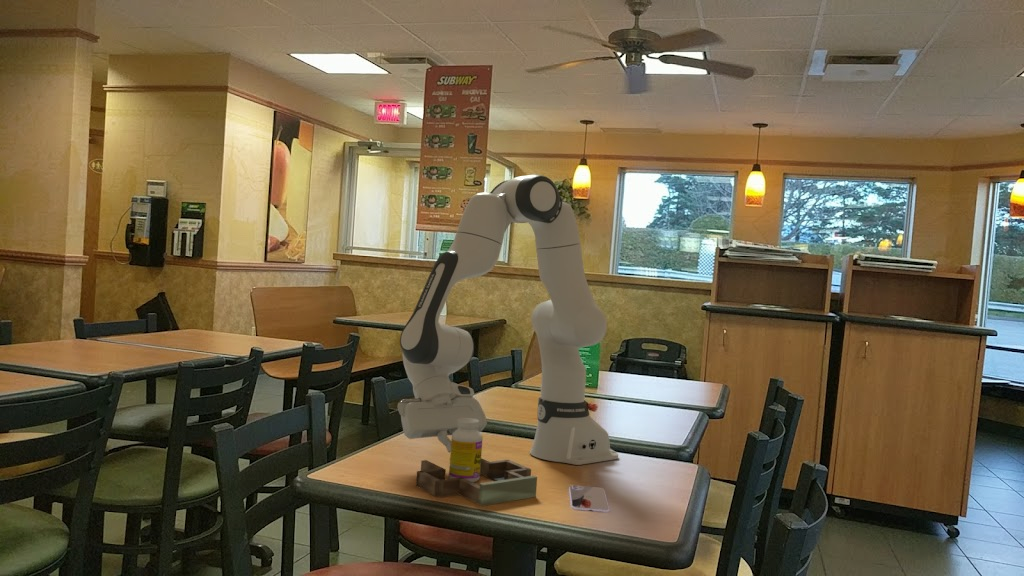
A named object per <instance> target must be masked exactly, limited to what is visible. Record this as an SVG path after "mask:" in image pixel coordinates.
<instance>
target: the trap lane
mask: <svg viewBox="0 0 1024 576" xmlns="http://www.w3.org/2000/svg"><path fill="white" fill-rule="evenodd" d="M420 461H421V462H420V470H417V471H416V479H415V480H416V482H415V483H416V484H415V486H416V487H417V486H418V488H419V487H420V488H419V489H421V490H423V491H424V492H427V493H429V494H430V495H432V496H434V497H435V498H442V497H443V498H444V497H449V496H457V495H459V496H462V497H464V498H466V499H467V500H469V501H471V502H473V503H475V504H477V505H479V506H481V507H484V506H490V505H495V504H496V505H497V504H501V503H507V502H513V501H518V500H524V499H530V498H535V497H537V486H538V476H536V475H532V468H530V467H527V466H524V465H522V464H519V463H517V462H515V461H512V460H510V459H502V460H496V461H495V460H494V461H489V460H486V459H484V458H482V457H481V468H480V476H481V475H482V476H483V477H486V478H488V479H490V480H493V481H488V482H481V483H479V484H476V482H474V483H473V482H471V481H469V480H467V479H465V478H462V477H458V478H451V479H450V478H446V474H447V473H446V471H447V470H446V468H444V467H442V466H440V465H437V464H435V463H433V462H431V461H430V460H427V459H424V460H420Z"/></svg>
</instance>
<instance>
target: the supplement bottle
mask: <svg viewBox="0 0 1024 576" xmlns="http://www.w3.org/2000/svg"><path fill="white" fill-rule="evenodd" d="M457 426H458V430H456V431H454V432H453V434H452V435H451V439H450V440H451V452H450V457H449V470H448V471H449V472H448V479H451V478H458V477H462V478H465V479H467V480H469V481H471V482H473V483H476V482H478V481H480V476H481V474H480V468H481V458H482V452H483V435H482V433H481V432H478V427H479V420H477V419H473V418H459V419H458V420H457Z"/></svg>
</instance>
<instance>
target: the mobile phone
mask: <svg viewBox="0 0 1024 576" xmlns="http://www.w3.org/2000/svg"><path fill="white" fill-rule="evenodd" d="M568 494H569V501H570V508H571V509H572V510H575V511H583V512H585V511H586V512H594V513H595V512H598V513H610V507H609V502H608V500H607V498H608V497H607V496H606V491H605V489H604V488H603V487H597V486H595V487H594V486H584V485H583V486H582V485H574V484H573V485H570V486H569V487H568Z"/></svg>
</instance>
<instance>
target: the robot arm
mask: <svg viewBox="0 0 1024 576" xmlns="http://www.w3.org/2000/svg"><path fill="white" fill-rule="evenodd" d="M577 222H578V221H577V219H576V216H575V213H574V210H573V208H572V206H571V205H570V204H569V203H567V202H565V201H563V199H562V197H561V196H560V192H559V190H558V188H557V186H556V184H555V182H553V180H552V179H550V178H549V177H548V176H544V175H541V174H529V175H521V176H520V175H519V176H516V177H513V178H512V179H507V180H504V181H502V182H500V183H498V184H497V185H496V186H494V188H493V189H492V190H491V191H489V192H478V193H476V194H474V195H472V196H471V197H470V198H469V200H468V202H467V204H466V206H465V209H464V210H463V212H462V215H461V218H460V221H459V223H458V226H457V230H456V233H455V236H454V239H453V240H452V243H451V245H450V246H449V248H448V249H447V251H445V252H442V254H440V256H438V258H437V259H436V261H435V263H434V265H433V266H432V268H431V271H430V273H429V275H428V278H427V280H426V281H425V282H426V283H425V285H424V287H423V289H422V292H421V294H420V296H419V298H418V301H417V303H416V306H415V307H414V309H413V312H412V313H411V316H410V317H409V319H408V321H407V322H406V324H405V325H404V327H403V328H402V331H401V333H400V336H399V337H400V338H399V344H400V345H399V346H400V349H401V352H402V354H401V355H402V356H401V357H402V363H403V366H404V369H405V373H406V376H407V379H408V380H409V382H410V383H411V385H412V393H413V395H414V398H409V399H408V398H404V399H401V400H400V401H399V402H398V403H397V410H398V413H399V415H400V420H401V425H402V426H401V427H402V430H403V433H404V436H405V437H406V438H407V439H410V440H413V439H422V438H423V439H424V438H435V437H437V439H438V441H439V442H440V443H442V445H443V446H444V447H445V449H446V451H447V452H448V453H451V440H452V439H450V438H449V437H448V436H452V434H453V432H454V431H456V430H458V426H457V420H458V419H459V418H473V419H477V420H479V427H478V432H480V433H481V432H482V431H483V430H484V429H485V428H486V426H487V423H488V420H487V419H488V418H487V416H486V414H485V412H484V410H483V407H482V405H481V403H480V402H479V400H478V399H476V398H475V397H474V395H475V391H474V389H473V388H471V387H469V386H466V385H462V384H458V383H456V382H454V381H451V380H450V378H449V377H450V375H452V374H455V373H456V372H458V371H460V370H461V369H463V368H465V366H467V364H469V363H470V361H471V360H472V358H473V357H474V352H475V343H474V340H473V337H472V335H471V333H470V332H469V331H467V330H465V329H462V328H460V327H456V326H452V325H447V324H445V323H440V322H439V320H440V317H441V314H442V312H443V309H444V306H445V305H446V302H447V300H448V297H449V296H450V293H451V291H452V289H453V287H454V286H455V285H456V284H457V283H459V282H461V281H464V280H467V279H472V278H474V279H475V278H478V277H481V276H484V275H486V274H488V273H489V272H491V271H492V270H493V269H494V268H495V266H496V264H497V262H498V260H499V258H500V253H501V251H502V245H503V243H504V242H503V241H504V239H505V233H506V232H507V229H508V228H509V226H510V225H511V224H529V225H530V227H531V228H532V231H533V233H534V238H535V239H534V241H535V249H536V251H535V252H536V259H537V265H538V274H539V279H540V282H541V283H542V285H543V286H544V288H545V290H546V291H547V293H548V296H549V297H550V299H548V300H545V301H542V302H540V303H538V304H537V305H536V306H535V307H534V309H533V311H532V313H531V316H530V317H531V318H530V319H531V326H532V328H533V331H534V332H535V335H536V337H537V342H538V347H539V353H540V362H541V379H540V380H541V382H540V383H541V384H540V396H539V397H538V402H537V424H536V430H535V435H534V439H533V442H532V445H531V449H530V451H529V454H530V455H531V456H533V457H535V458H537V459H542V460H545V461H551V462H554V463H555V462H556V463H566V464H570V465H577V466H581V465H586V464H593V463H599V462H606V461H613V460H618V459H619V453H618V452H617V451H615V450H613V449H612V448H611V446H610V444H611V443H610V437H609V433H608V431H607V430H606V429H605V428H604V427H603V426H602V425H600V424H599V423H598V422H597V421H596V420H595V419H594V418H593V417H592V416H591V414H590V411H591V412H593V413H594V412H597V411H598V408H599V406H598V404H596V403H593V402H590V403H589V402H588V401H586V400H585V398H586V397H585V396H586V395H585V394H586V383H587V382H586V381H587V379H586V378H587V369H586V366H585V365H584V363H583V361H582V359H581V355H580V351H579V348H585V347H592V346H595V345H598V344H599V343H600V342H601V341H602V340H603V339H604V338H605V336H606V333H607V329H608V321H607V318H606V315H605V314H604V312H603V311H602V310H601V309H600V307H599V306H598V305H597V303H596V302H595V299H594V297H593V294H592V292H591V289H590V287H589V284H588V281H587V278H586V272H585V268H584V262H583V261H584V260H583V254H582V253H583V252H582V246H581V237H580V232H579V227H578V223H577Z"/></svg>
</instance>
